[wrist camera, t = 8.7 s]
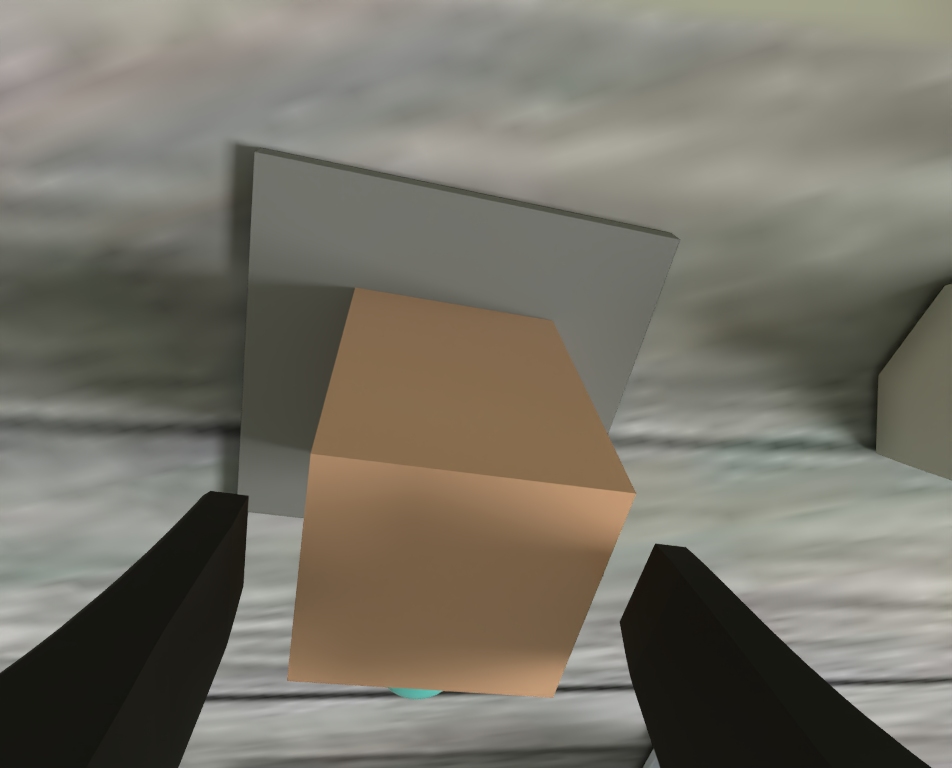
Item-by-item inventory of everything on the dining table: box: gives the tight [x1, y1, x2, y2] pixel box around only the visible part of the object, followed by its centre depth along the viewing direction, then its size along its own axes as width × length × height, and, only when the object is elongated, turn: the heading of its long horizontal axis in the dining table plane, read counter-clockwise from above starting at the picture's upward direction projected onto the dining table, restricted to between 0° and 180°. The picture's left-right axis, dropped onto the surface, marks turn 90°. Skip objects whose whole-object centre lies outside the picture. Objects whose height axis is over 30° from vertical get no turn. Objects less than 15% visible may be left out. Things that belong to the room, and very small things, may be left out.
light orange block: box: [287, 287, 636, 698], centre depth 14 cm, size 5×5×7 cm
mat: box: [237, 148, 680, 518], centre depth 17 cm, size 10×10×1 cm
